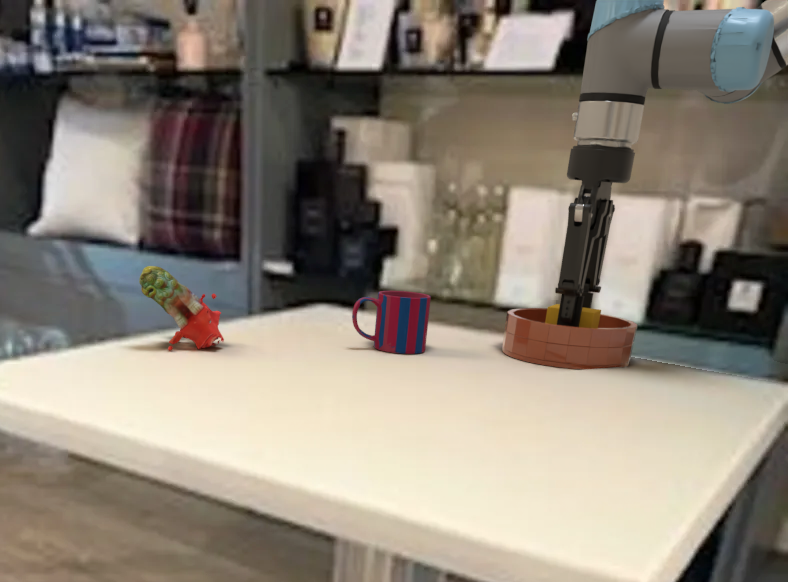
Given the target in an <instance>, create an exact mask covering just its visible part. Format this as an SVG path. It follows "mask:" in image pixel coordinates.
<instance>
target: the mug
mask: <svg viewBox="0 0 788 582" xmlns="http://www.w3.org/2000/svg"><path fill="white" fill-rule="evenodd" d="M431 298H432V296H431V295H430V294H427V293H421V292H415V291H407V290H406V291H405V290H381V291H378V293H377V298H376V297H371V296H363V297H361V298H358V300H356V302H355V303H354V305H353V308H352V312H351V320H352V326H353V328H354V329H355V331H356V333H358V334H359V336H361V337H362V338H364V339H366V340H368V341H371V342H373V348H374V349H376V350H378V351H382V352H385V353H392V354H403V355H405V354H406V355H415V354H422V353H425V352H426V348H427V346H426V345H427V339H428V337H427V336H428V329H429V328H428V327H429V318H430V309H431V300H432V299H431ZM365 302H370V303H373V304H374V306H376V314H375V326H374V334H373V335H372V334H369V333H366V332H364V331H363V330H362V329H361V328H360V326H359V323H358V311H359V308H360V306H361V305H362V304H363V303H365Z"/></svg>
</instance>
